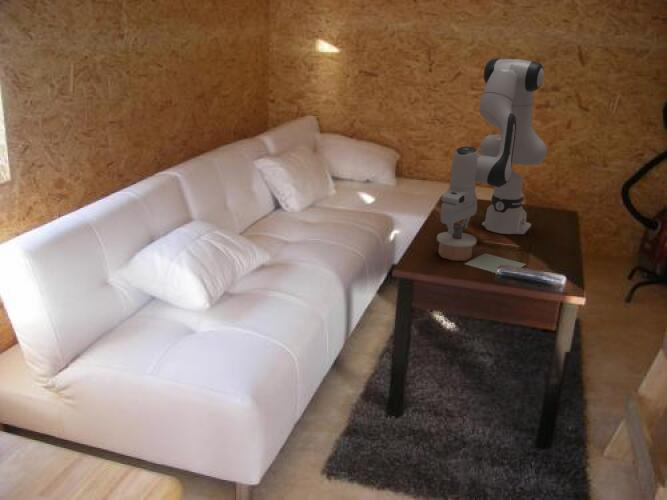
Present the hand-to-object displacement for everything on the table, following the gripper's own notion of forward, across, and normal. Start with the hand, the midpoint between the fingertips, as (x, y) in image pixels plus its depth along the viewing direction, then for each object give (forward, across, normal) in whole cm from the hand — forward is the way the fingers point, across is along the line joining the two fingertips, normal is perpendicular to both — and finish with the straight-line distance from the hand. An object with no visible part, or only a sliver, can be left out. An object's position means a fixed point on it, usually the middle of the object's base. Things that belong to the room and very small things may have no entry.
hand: (457, 231), depth 231 cm
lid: (+4, 0, 0) cm, 4 cm away
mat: (+10, -2, +15) cm, 18 cm away
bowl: (+10, 0, 0) cm, 10 cm away
